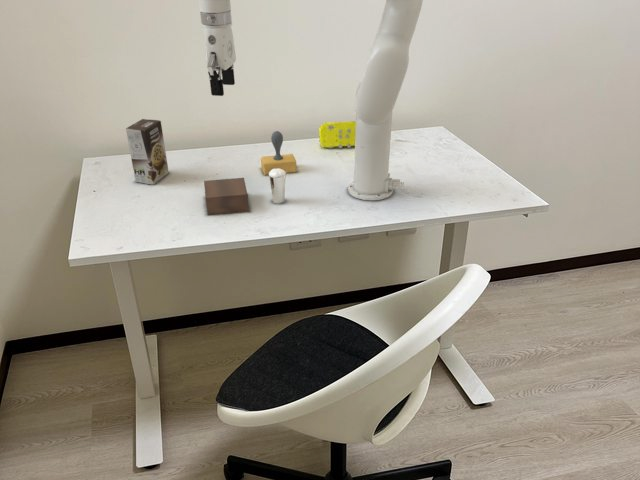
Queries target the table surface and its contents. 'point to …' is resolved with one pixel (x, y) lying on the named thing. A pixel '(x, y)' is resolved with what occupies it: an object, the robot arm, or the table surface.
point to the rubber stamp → (278, 157)
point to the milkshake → (277, 185)
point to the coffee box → (147, 151)
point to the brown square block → (226, 196)
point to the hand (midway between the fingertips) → (223, 89)
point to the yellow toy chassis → (337, 134)
